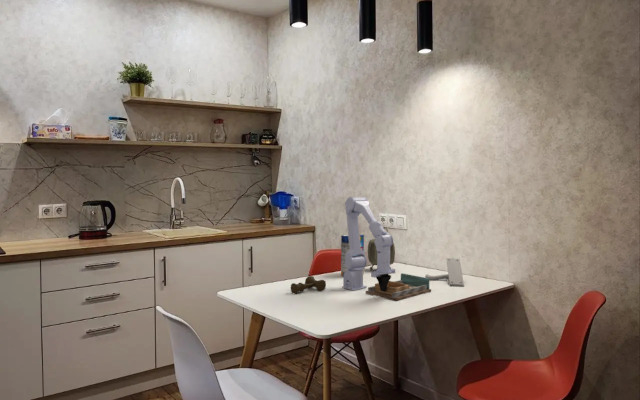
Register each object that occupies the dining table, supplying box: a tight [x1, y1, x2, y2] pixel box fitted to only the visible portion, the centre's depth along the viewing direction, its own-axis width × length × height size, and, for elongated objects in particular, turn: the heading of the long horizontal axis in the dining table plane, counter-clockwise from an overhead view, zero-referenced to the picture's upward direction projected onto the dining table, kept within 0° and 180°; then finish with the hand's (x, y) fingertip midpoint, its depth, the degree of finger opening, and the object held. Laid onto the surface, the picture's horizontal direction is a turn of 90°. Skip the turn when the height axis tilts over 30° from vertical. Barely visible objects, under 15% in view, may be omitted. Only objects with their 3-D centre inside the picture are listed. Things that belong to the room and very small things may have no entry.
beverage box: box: [340, 233, 365, 277], centre depth 260 cm, size 7×11×22 cm, turn 135°
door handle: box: [424, 257, 465, 287], centre depth 247 cm, size 18×8×20 cm
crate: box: [374, 280, 409, 295], centre depth 219 cm, size 10×12×3 cm
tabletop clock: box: [367, 226, 396, 270], centre depth 274 cm, size 14×9×25 cm, turn 94°
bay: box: [365, 272, 432, 302], centre depth 223 cm, size 26×18×6 cm
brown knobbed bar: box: [290, 275, 327, 295], centre depth 226 cm, size 6×10×20 cm
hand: (383, 291), depth 215 cm, fingers closed
